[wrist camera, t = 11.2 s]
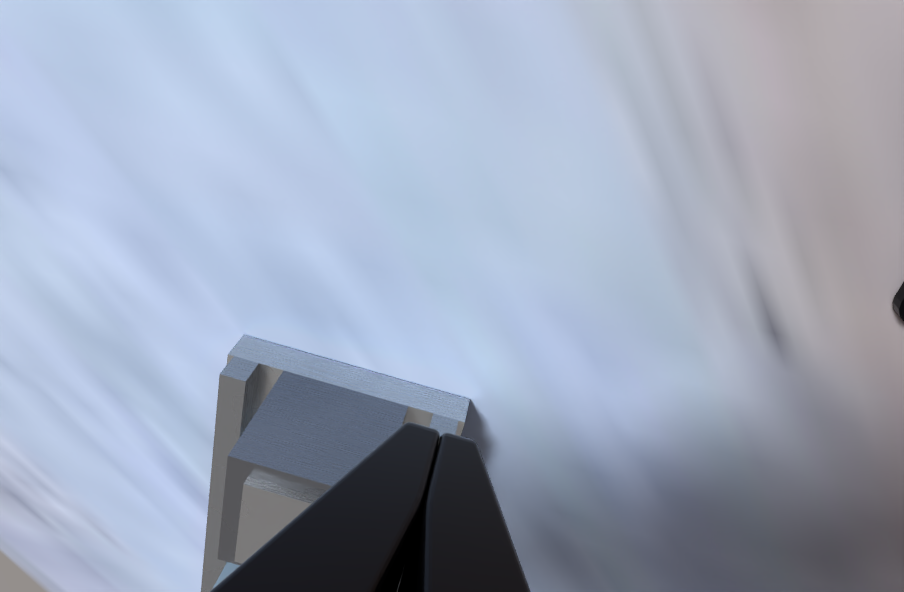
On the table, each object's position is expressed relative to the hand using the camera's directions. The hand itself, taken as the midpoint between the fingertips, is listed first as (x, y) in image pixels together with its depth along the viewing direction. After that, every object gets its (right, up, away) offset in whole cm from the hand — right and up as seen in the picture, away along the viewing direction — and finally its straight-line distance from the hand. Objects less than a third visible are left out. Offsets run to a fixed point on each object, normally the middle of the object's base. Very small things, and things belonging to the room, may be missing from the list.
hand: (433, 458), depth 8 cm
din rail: (-5, -8, +18) cm, 21 cm away
